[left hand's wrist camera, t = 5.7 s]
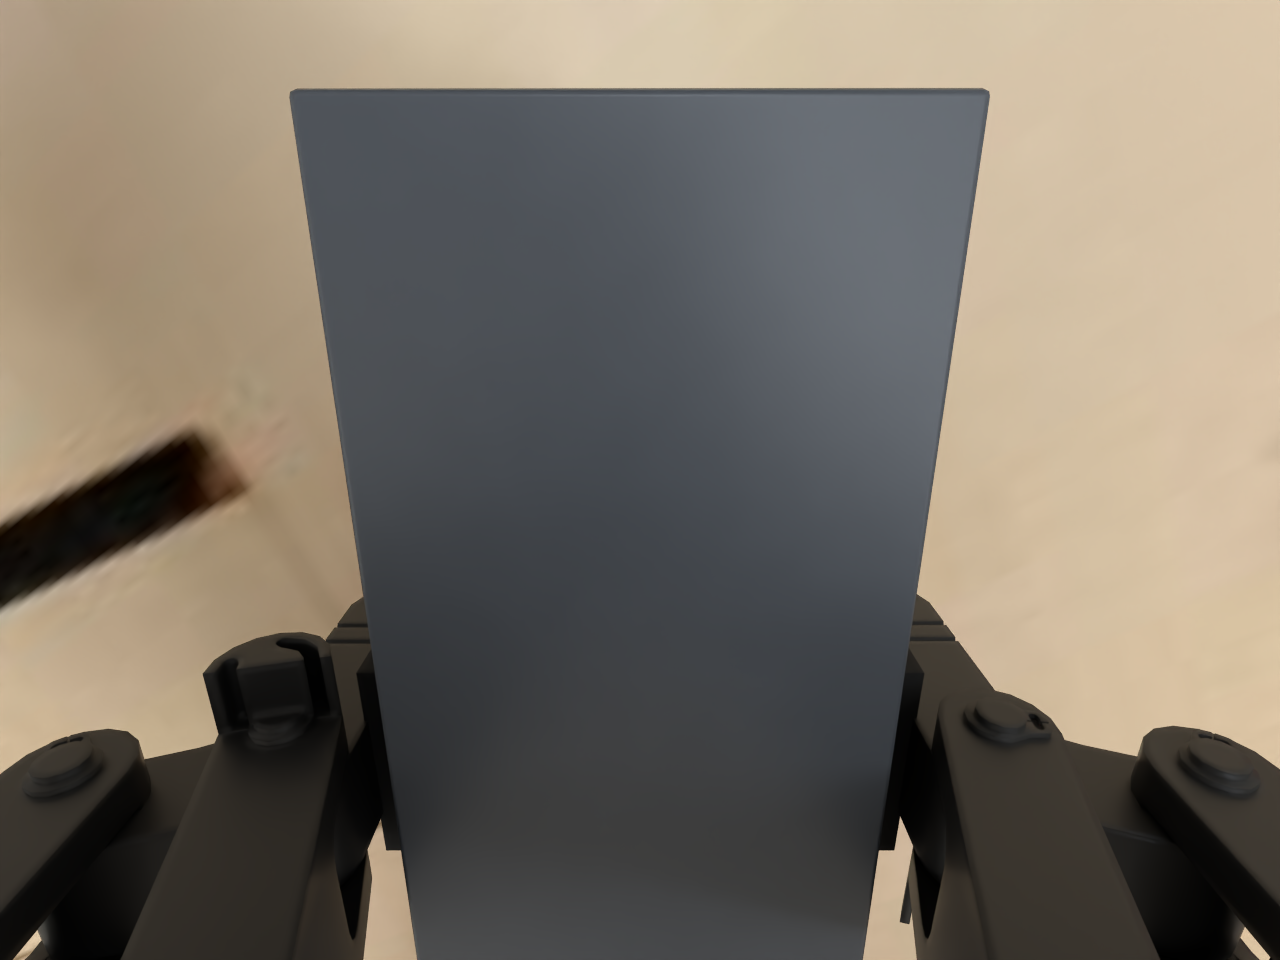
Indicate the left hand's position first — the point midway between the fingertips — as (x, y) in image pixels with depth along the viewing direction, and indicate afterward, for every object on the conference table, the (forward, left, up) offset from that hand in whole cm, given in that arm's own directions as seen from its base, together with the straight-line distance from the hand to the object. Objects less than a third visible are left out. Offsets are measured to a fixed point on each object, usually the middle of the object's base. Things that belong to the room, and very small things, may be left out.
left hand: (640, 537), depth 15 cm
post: (+25, +5, -1) cm, 26 cm away
